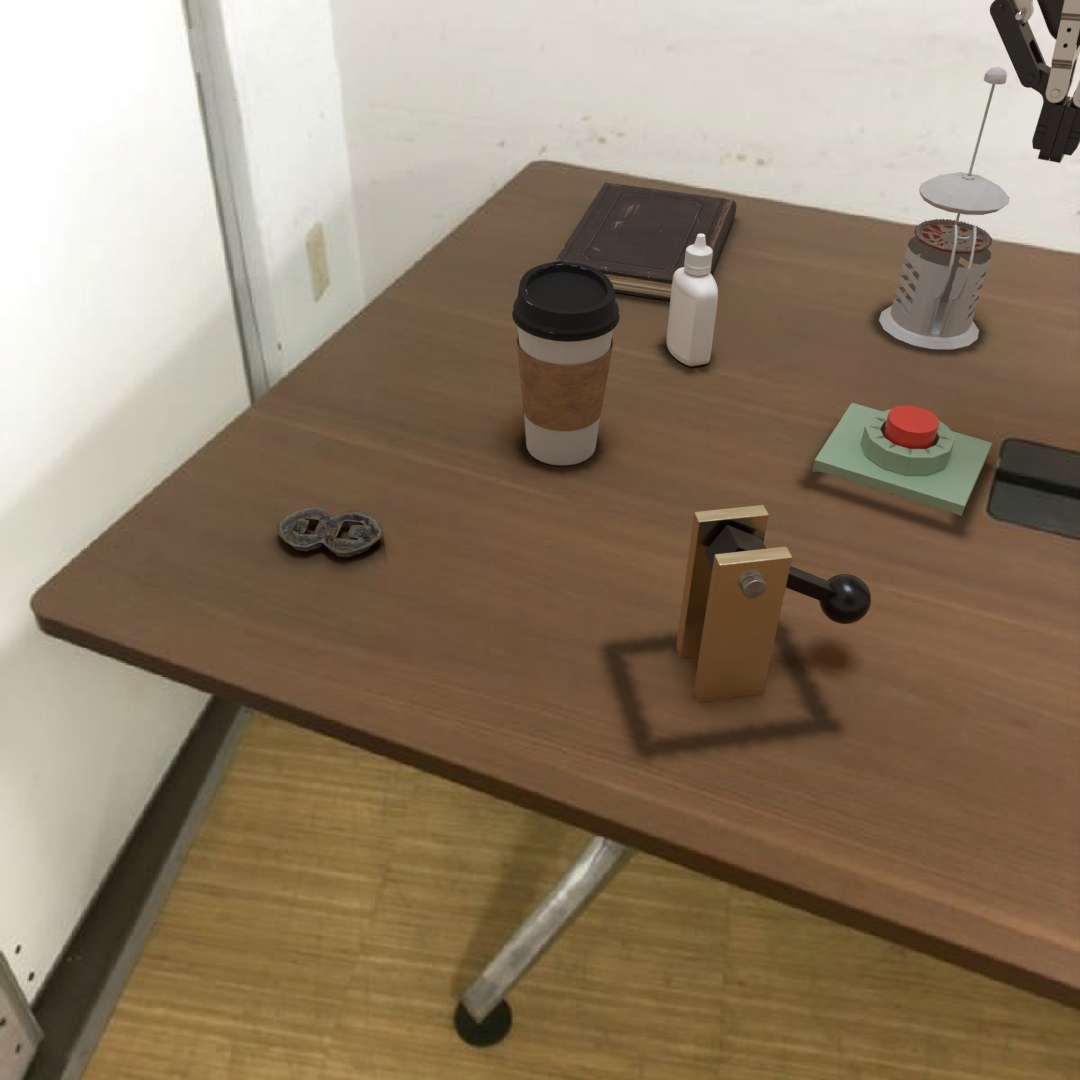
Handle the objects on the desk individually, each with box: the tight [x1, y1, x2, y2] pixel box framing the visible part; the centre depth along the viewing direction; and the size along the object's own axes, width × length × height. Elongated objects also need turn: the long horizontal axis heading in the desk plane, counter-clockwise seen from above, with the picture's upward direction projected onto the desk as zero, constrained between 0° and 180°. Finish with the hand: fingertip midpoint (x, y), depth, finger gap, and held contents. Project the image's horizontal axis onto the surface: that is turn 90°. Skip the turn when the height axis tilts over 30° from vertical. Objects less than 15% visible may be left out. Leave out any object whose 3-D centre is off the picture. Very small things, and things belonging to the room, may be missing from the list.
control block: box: [811, 402, 993, 516], centre depth 92 cm, size 12×10×4 cm
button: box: [884, 405, 940, 449], centre depth 90 cm, size 4×4×2 cm
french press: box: [878, 66, 1010, 350], centre depth 104 cm, size 10×12×25 cm
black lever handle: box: [704, 525, 872, 625], centre depth 69 cm, size 12×3×3 cm
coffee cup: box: [511, 261, 621, 467], centre depth 90 cm, size 8×8×15 cm
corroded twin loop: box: [276, 506, 383, 559], centre depth 84 cm, size 5×8×1 cm, turn 82°
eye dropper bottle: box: [665, 234, 719, 367], centre depth 104 cm, size 4×6×12 cm
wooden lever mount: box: [675, 504, 793, 703], centre depth 70 cm, size 12×9×13 cm
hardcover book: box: [552, 182, 737, 302], centre depth 125 cm, size 16×23×2 cm
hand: (1051, 157), depth 75 cm, fingers closed
